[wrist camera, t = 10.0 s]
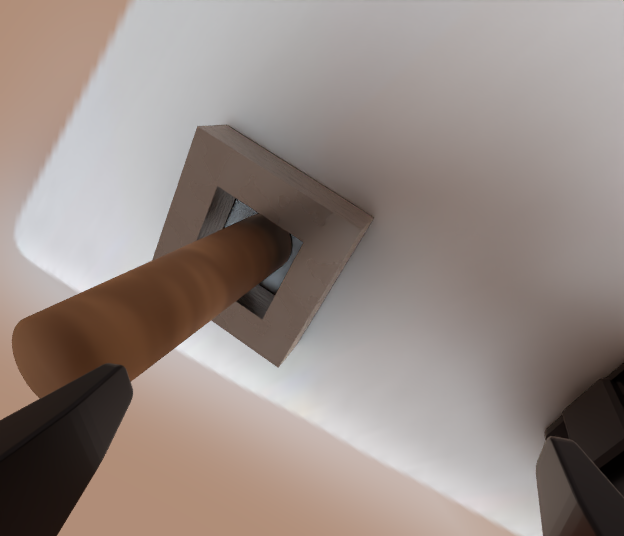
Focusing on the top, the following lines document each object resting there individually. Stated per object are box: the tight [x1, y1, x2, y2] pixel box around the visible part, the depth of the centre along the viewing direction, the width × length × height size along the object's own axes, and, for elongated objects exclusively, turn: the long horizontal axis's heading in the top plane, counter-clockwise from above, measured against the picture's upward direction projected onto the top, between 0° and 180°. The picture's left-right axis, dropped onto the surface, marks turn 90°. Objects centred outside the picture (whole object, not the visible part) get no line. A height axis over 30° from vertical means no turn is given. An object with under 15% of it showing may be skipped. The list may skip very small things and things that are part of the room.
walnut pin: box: [12, 214, 291, 398], centre depth 18 cm, size 3×3×13 cm
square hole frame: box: [152, 125, 374, 368], centre depth 22 cm, size 9×9×2 cm
